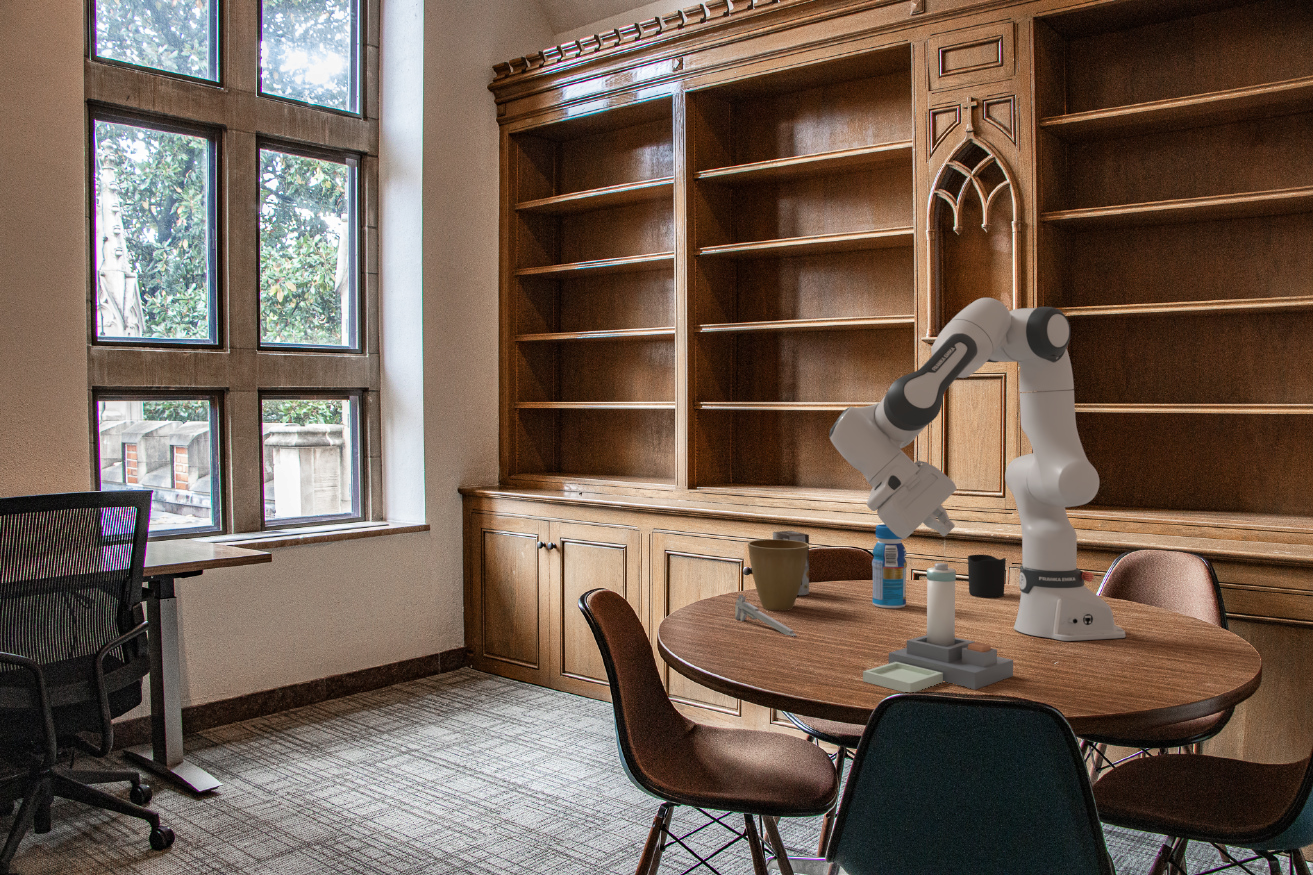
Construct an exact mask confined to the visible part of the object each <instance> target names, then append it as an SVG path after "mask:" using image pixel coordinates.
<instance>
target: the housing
mask: <svg viewBox="0 0 1313 875" xmlns="http://www.w3.org/2000/svg"><path fill="white" fill-rule="evenodd" d="M975 642H976V641H974V640H969V639H965V638H964V639H963V638H959V637H955V645H952V646H948V647H944V646H939V645H934V644H930V643H927V634H925V635H922V636H918V637H914V638H911V639H907V640H906V647H904V648H902V649H896V650H894V651H890V652H888V664H890V663H893V662H899V663H904V664H908V665H912V666H916V667H920V668H925V669H929V670H933V671H937V672H941V673H943V681H945V682H948V683H947V684H949V683H954V684H957V685H961V686H965V687H967V689H970V688H971V689H970V690H974V691H977V690H978V689H981V688H984V687H986V686H989V685H992V684H995V683H997V682H1000V681H1003V679H1004V680H1006V679H1009V678H1011V677H1013V676H1014V659H1012V658H1011V659H1010V658H1007V657H1006V658H1005V657H1001V656H998V649H996V648H992V647H991V650H989V651H986V652H978V651H974V650H969V649H968V644H971V643H975ZM945 682H944V683H945ZM957 685H956V686H957ZM961 686H960V687H961ZM965 687H964V688H965Z"/></svg>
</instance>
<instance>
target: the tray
mask: <svg viewBox="0 0 1313 875" xmlns="http://www.w3.org/2000/svg"><path fill="white" fill-rule="evenodd" d="M862 682H864V683H869V684H871V685H872V684H873V685H876V686H879V687H883V688H887V689H891V690H894V691H898V692H902V693H905V692H914V693H917V692H920V691H923V690H925V688H926V689H929V688H931V687H930V686H932V687H935V686H937V685H936V684H938V683H941V684H943V683H944V682H943V673H941V672H937V671H933V670H929V669H925V668H920V667H916V666H912V665H908V664H904V663H899V662H893V663H890V664H889V663H886V664H884V665H883V664H882V665H880V666H877V667H876V666H875V667H873V668H870V669H867V670H863V671H862ZM942 682H943V683H942ZM934 685H935V686H934ZM938 685H939V684H938ZM928 687H929V688H928ZM922 689H923V690H922Z"/></svg>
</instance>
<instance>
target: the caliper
mask: <svg viewBox="0 0 1313 875" xmlns="http://www.w3.org/2000/svg"><path fill="white" fill-rule="evenodd" d="M746 598H747V597H746V596H744V595H743V594H739V595H738V598H737V599H736V601H735V609H734V612H735V613H734V615H735V616H734V617H735V620H736V621H738V620H739V622H745V621H746V619H747V617H749V618H751V619H752V620H759V621H761V622H762V623H764V624H766V625H768V626H770V627H771V628H773V629H775V630H777V631H778V632H780V633H781V634H783V635H785V636H788V635H790V636H789V637H792V636H793V637H792V638H794V636H796V637H798V635H797V634H796V633H795V632H794V630H793V629H792V628H790V627H789V626H787V625H785V624H783V623H781V622H779V621H778V620H776V619H774V618H773V617H771V616H769V615H767V614H766V613H765V612H762V611H760V609H759V608H758V607H756V606H755V605H753V604H752V603H750V602H748V601H746Z"/></svg>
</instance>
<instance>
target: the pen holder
mask: <svg viewBox="0 0 1313 875" xmlns="http://www.w3.org/2000/svg"><path fill="white" fill-rule="evenodd" d="M1006 560H1007V559H1006V557H1003V558H1001V559H999V558H997V557H995V556H992V555H989V554H971V555H968V556H967V568H968V569H967V570H968V572H967V573H968V593H969V594H970V596H972V597H976V598H983V599H996V598H997V599H998V598H1002V597H1003V596H1004V595H1005V585H1006V584H1005V583H1006V582H1005V581H1006V580H1005V579H1006V563H1007V561H1006Z"/></svg>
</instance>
